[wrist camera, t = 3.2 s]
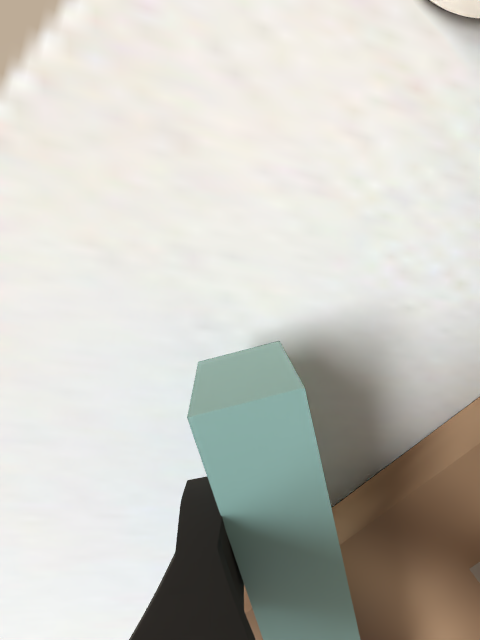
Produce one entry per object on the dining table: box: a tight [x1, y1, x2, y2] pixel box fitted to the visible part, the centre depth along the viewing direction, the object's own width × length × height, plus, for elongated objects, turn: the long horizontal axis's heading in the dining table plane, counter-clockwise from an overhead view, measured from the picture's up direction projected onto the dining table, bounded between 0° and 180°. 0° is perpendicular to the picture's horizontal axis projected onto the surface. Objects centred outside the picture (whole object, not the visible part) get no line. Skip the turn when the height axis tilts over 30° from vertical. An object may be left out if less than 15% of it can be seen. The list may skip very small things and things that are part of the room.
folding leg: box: [187, 341, 360, 640], centre depth 10 cm, size 14×3×4 cm, turn 14°
